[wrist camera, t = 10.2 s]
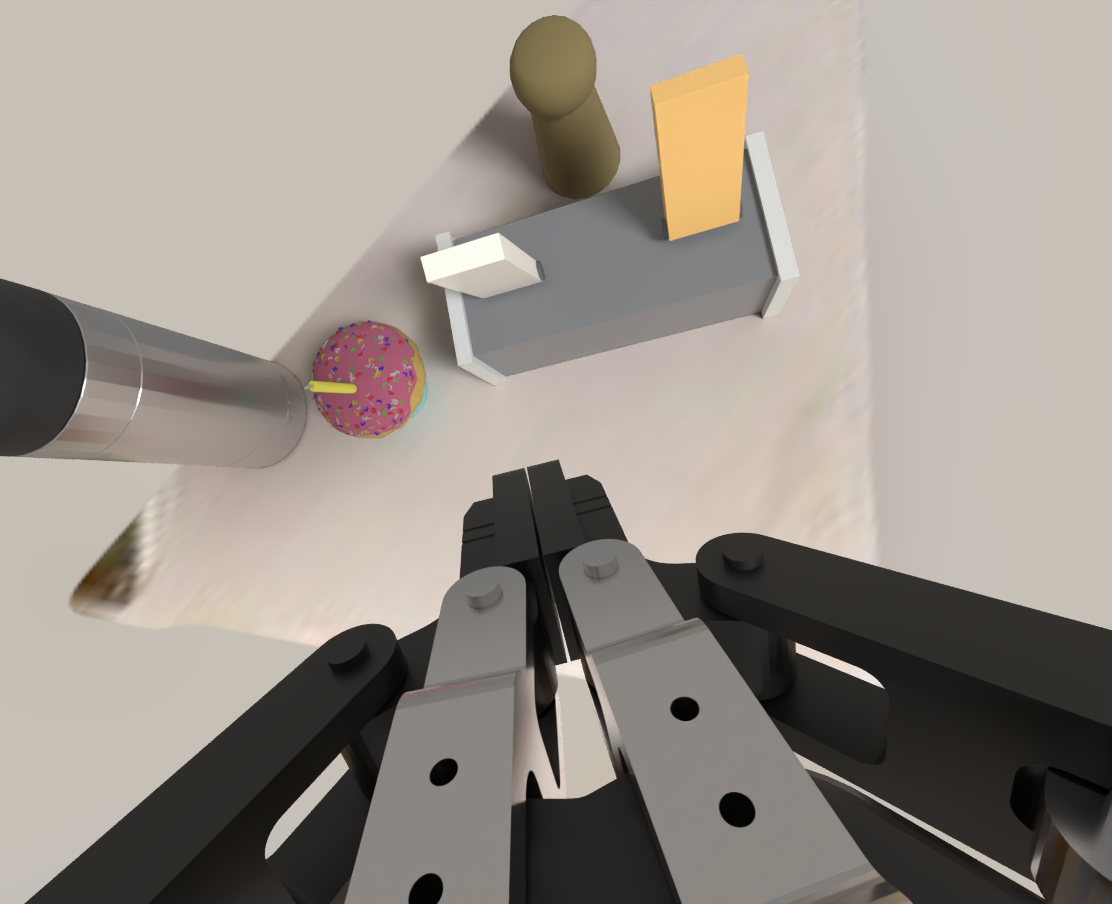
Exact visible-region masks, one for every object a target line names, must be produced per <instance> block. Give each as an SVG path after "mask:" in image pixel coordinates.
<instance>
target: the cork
mask: <svg viewBox="0 0 1112 904" xmlns="http://www.w3.org/2000/svg"><path fill="white" fill-rule="evenodd" d="M510 78H511V82H512V85H513V88H514V91H515V93H516V95H517V98H518V99H519V100H520V101H521V103H522V104H523V105H524V106H525V107H526V108H527V110H528V111H529V112H531V115H532V120H533V124H534V129H535V134H536V139H537V144H538V149H539V154H540V158H541V163H542V168H543V172H544V175H545V178H546V181H547V183H548V184H549V185H550V187H551V188H552V189H553V191H555V192H557V193H558V194H560V195H562V196H563V197H568V198H573V199H578V198H586V197H589V196H591V195H594V194H596V193H598V192H600V191H601V190H602V189H603V188H605V187H606V186H607V185H608V184H609V183H610V182H611V180H612V179H613V177H614V176H615V174H616V172H617V169H618V166H619V163H620V148H619V145H618V142H617V139H616V137H615V134H614V132H613V129H612V127H611V125H610V122H609V120H608V117H607V115H606V113H605V110H604V108H603V105H602V103H601V100H600V98H599V96H598V93H597V91H596V88H595V86H594V83H595V79H596V54H595V50H594V47H593V44H592V42H591V39H590V37H589V36H588V34H587V32H586V31H585V30H584V29H583V28H582V27H581V26H580V24H578V23H576V22H575V21H573V20H571V19H569V18H567V17H564V16H556V15H553V16H548V17H543V18H541V19H539V20H537V21H535V22H533V23H531V24H530V25H529V26H528V27H527V28H526V29H525V30H523V32H522V33H521V34H520V36H519V37H518V39H517V40H516V42H515V45H514V48H513V52H512V55H511V58H510Z"/></svg>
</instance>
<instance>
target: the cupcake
mask: <svg viewBox="0 0 1112 904" xmlns="http://www.w3.org/2000/svg"><path fill="white" fill-rule="evenodd" d="M340 329H341V330H340ZM339 330H340V331H338V332H336V334H334V335H333V336H332V337H331V338H330V339H328V340H326V342H325V343H324V345H323V346H322V348H321V349H320V352H318V354H317V357H316V359H315V361H314V363H313V366H314V369H313V370H312V372H311V374H312V373H313V374H312V379H311V381H310V382H309V384H308V385H306V386H304V389H309V390H310V391H312V392H314V397H315V398H312V399H313V400H314V401H316V403H317V406H318V410H320V412H321V413H322V415H323V416H324V417H325V418H326V420H327V422H329V423H330V424H331V426H333V427H334V428H335V429H337V430H338V431H340V432H343V433H346V434H348V435H351V436H354V437H359V438H382V437H385V436H387V435H388V434H390V433H391V432H393V431H395V430H397V429H399V428H401V427H403V426H404V425H405V424H406V422H407V421H408V419H409V418H410V417H412V416H414V415H415V414H416V413H417V412H418V411H419V410H420V409H421V407H422V406H423V404H424V402H425V399H426V395H427V383H426V374H425V369H424V365H423V362H422V359H421V357H420V355H419V351H418V348H417V346H416V344H415V343H414V342H413V341H412V340H410V339H409V338H408V337H407V336H406V335H405V334H403V333H402V332H401V331H400V330H398V329H397V328H395V327H392V326H389V325H385V324H381V323H375V322H370V320H369V321H368V322H361V323H359V322H358V323H357V324H355V323H354V324H352V325H350V326H348V327H346V328H342V327H340V328H339Z"/></svg>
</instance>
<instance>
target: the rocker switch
mask: <svg viewBox="0 0 1112 904" xmlns="http://www.w3.org/2000/svg"><path fill="white" fill-rule="evenodd" d="M420 258H421V261H422V265H423V269H424V272H425V276H426V280H427V282H428V283H431V284H435V285H438V286H442V287H445V288H449V289H452V290H456V291H459V292H462V293H466V294H469V295H473V296H476V297H477V298H478V299H480V298H487V297H490V296H494V295H497V294H501V293H504V292H508V291H511V290H515V289H518V288H522V287H525V286H529V285H532V284H536V283H539V282H542V281H543V280H545V275H544V270H543V267H542V264H541V262H540V260H538V261H536V260H534V259H533V258H532V257H530V256H529V255H528V254H526V253H525V252H524V251H522V250H521V249H520V248H518V247H517V246H516V245H514V244H513V243H512V242H510V241H509V240H508V239H506V238H505V237H504V236H502V235H501V234H500V233H496V234H493V235H489V236H486V237H483V238H480V239H477V240H473V241H470V242H467V243H464V244H461V245H457V246H454V247H451V248H448V249H445V250H441V251H438V252H435V253H432V254H429V255H425V256H422V257H420Z"/></svg>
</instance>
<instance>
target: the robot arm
mask: <svg viewBox="0 0 1112 904" xmlns="http://www.w3.org/2000/svg"><path fill="white" fill-rule="evenodd" d="M305 419H306V401H305V397H304V393H303V390H302V388H301V386H300V384H299V382H298V380H297V379H296V378H295V376H294V375H293V374H292V373H291V372H290V371H289V370H287V369H286V368H285V367H283V366H281V365H279V364H277V363H274V362H271V361H268V360H264V359H261V358H258V357H254V356H251V355H248V354H245V353H242V352H239V351H236V350H233V349H229V348H226V347H223V346H220V345H216V344H213V343H210V342H207V341H203V340H200V339H197V338H194V337H190V336H187V335H184V334H181V333H177V332H174V331H171V330H168V329H164V328H161V327H158V326H155V325H151V324H148V323H145V322H142V321H138V320H135V319H132V318H129V317H125V316H122V315H119V314H116V313H112V312H109V311H106V310H102V309H99V308H95V307H92V306H89V305H86V304H83V303H79V302H76V301H73V300H70V299H66V298H63V297H60V296H57V295H53V294H50V293H47V292H44V291H41V290H38V289H34V288H31V287H27V286H24V285H21V284H17V283H14V282H10V281H7V280H4V279H0V456H16V457H34V458H55V459H82V460H101V461H103V460H104V461H123V462H144V463H165V464H185V465H206V466H222V467H246V468H263V467H268V466H271V465H273V464H275V463H277V462H280V461H281V460H282V459H283V458H285V457H286V456H287V455H288V454H289V453H290V452H291V451H292V450H293V448H294V447H295V446H296V444H297V442H298V441H299V439H300V437H301V435H302V432H303V429H304V426H305ZM527 470H528V476H529V481H530V487H531V490H530V487H529V483H528V479H527V475H526V472H525V469H524V468H522V469H518V470H514V471H510V472H506V473H502V474H498V475H494V476H492V479H493V498H490V499H486V500H482V501H478V502H474V503H473V505H472V506H471V507H470V509H469V510H468V512H467V513H466V514H465V516H464V521H463V536H462V543H463V545H462V551H461V567H460V580H458V581H457V582H456V583H455V584H453V585H452V586H451V587H450V589H449V590H448V591H447V593H446V594H445V596H444V599H443V602H442V606H441V611H440V615H439V618H438V619H437V620H435V621H434V622H432V623H431V624H429V625H427V626H425V627H424V628H422V629H420V630H418V631H416V632H413V633H411V634H409V635H407V636H405V637H403V638H401V639H399V640H397V639H396V636H395V634H394V632H393V631H392V630H391V629H390V628H389V627H387V626H384V625H380V624H365V625H361V626H357V627H354V628H351V629H348V630H346V631H344V632H342V633H340V634H338V635H336V636H334V637H333V638H331V639H330V640H328V641H327V642H326V643H325V644H323V645H322V646H321V647H320V648H319V649H317V650H316V651H315V652H314V653H313V654H312V655H310V656H309V657H308V658H307V659H306V660H305V661H304V662H302V663H301V664H300V665H299V666H298V667H297V668H295V669H294V670H293V671H292V672H291V673H290V674H289V675H287V676H286V677H285V678H284V679H283V680H282V681H280V682H279V683H278V684H277V685H276V686H275V687H274V688H272V689H271V690H270V691H269V692H268V693H267V694H265V695H264V696H263V697H262V698H261V699H260V700H259V701H258V702H256V703H255V704H254V705H253V706H252V707H250V708H249V709H248V710H247V711H246V712H245V713H244V714H242V715H241V716H240V717H239V718H238V719H237V720H235V721H234V722H233V723H232V724H231V725H230V726H229V727H228V728H226V729H225V730H224V731H223V732H222V733H221V734H219V735H218V736H217V737H216V738H215V739H214V740H213V741H211V743H209V744H208V745H207V746H206V747H204V748H203V749H202V750H201V751H200V752H199V753H198V754H196V755H195V756H194V757H193V758H192V759H191V760H190V761H188V762H187V763H186V764H185V765H184V766H182V767H181V768H180V769H179V770H178V771H177V772H176V773H174V774H173V775H172V776H171V777H170V778H169V779H168V780H166V781H165V782H164V783H163V784H162V785H161V786H160V787H158V788H157V789H156V790H155V791H154V792H153V793H151V794H150V795H149V796H148V797H147V798H146V799H144V800H143V801H142V802H141V803H140V804H139V805H138V806H137V807H135V808H134V809H133V810H132V811H131V812H129V813H128V814H127V815H126V816H125V817H124V818H123V819H122V820H120V821H119V822H118V823H117V824H116V825H114V826H113V827H112V828H111V829H110V830H109V831H108V832H106V833H105V834H104V835H103V836H102V837H101V838H99V839H98V840H97V841H96V842H95V843H94V844H93V845H91V846H90V847H89V848H88V849H87V850H86V851H85V852H84V853H82V854H81V855H80V856H79V857H78V858H76V859H75V861H73V862H72V863H71V864H70V865H68V866H67V867H66V868H65V869H64V870H63V871H61V873H59V874H58V875H57V876H56V877H55V878H53V880H51V881H50V882H49V883H48V884H46V885H45V886H44V887H43V888H42V889H41V890H40V891H38V892H37V893H36V894H35V895H34V896H33V897H32V898H30V899H29V900H28V901H27V902H26V903H25V904H1112V630H1109V629H1105V628H1102V627H1098V626H1094V625H1091V624H1087V623H1083V622H1080V621H1076V620H1072V619H1069V618H1064V617H1061V616H1057V615H1053V614H1050V613H1046V612H1042V611H1039V610H1036V609H1032V608H1028V607H1024V606H1021V605H1017V604H1014V603H1010V602H1006V601H1003V600H999V599H995V598H991V597H988V596H984V595H980V594H977V593H973V592H969V591H965V590H962V589H958V588H955V587H951V586H947V585H944V584H940V583H936V582H932V581H929V580H925V579H921V578H918V577H914V576H911V575H907V574H903V573H900V572H896V571H892V570H889V569H885V568H881V567H878V566H874V565H870V564H867V563H863V562H859V561H856V560H852V559H848V558H845V557H841V556H837V555H834V554H830V553H826V552H823V551H819V550H815V549H812V548H808V547H804V546H801V545H797V544H793V543H790V542H786V541H782V540H779V539H775V538H771V537H768V536H764V535H760V534H754V533H732V534H726V535H722V536H719V537H716V538H714V539H712V540H710V541H708V542H707V543H705V544H704V545H703V546H702V547H701V548H700V549H699V551H698V553H697V555H696V563H684V564H667V563H659V562H654V561H651V560H648V559H645V558H644V556H643V555H642V553H641V552H640V550H639V549H638V548H637V547H635V546H634V545H633V544H631V543H629V542H628V541H627V538H626V536H625V534H624V532H623V530H622V528H621V525H620V523H619V521H618V519H617V517H616V515H615V512H614V510H613V508H612V507H611V504H610V502H609V499H608V497H607V496H606V493H605V491H604V489H603V486H602V484H601V483H600V482H599V481H597V480H595V479H593V478H592V477H590V476H588V475H583V476H579V477H575V478H571V479H567V480H565V478H564V475H563V472H562V469H561V466H560V463H559V460H555V461H550V462H546V463H542V464H538V465H534V466H530V467H527ZM531 492H532V494H531ZM532 497H533V498H532ZM557 610H558V612H557ZM558 614H559V617H558ZM559 618H560V621H561V625H562V629H563V633H564V637H565V640H566V644H567V648H568V652H569V656H570V660H571V661H574V660H578V659H581V663H582V667H583V671H584V674H585V678H586V682H587V686H588V690H589V694H590V698H591V701H592V704H593V707H594V710H595V713H596V716H597V720H598V723H599V726H600V729H601V732H602V735H603V738H604V741H605V744H606V747H607V750H608V753H609V756H610V759H611V762H612V765H613V768H614V772H615V774H616V778H617V779H616V780H614V781H612V782H610V783H608V784H607V785H605V786H603V787H601V788H600V789H598V790H596V791H594V792H593V793H591V794H589V795H587V796H584V797H580V798H573V799H567V791H566V778H565V763H564V750H563V749H564V748H563V734H562V720H561V707H560V700H559V697H558V693H557V687H558V680H557V674H556V668H555V665H559V664H563V663H567V658H566V653H565V648H564V642H563V637H562V632H561V627H560V622H559ZM795 642H796V643H799V644H801V645H804V646H806V647H809V648H811V649H814V650H816V651H819V652H821V653H824V654H826V655H829V656H831V657H834V658H836V659H839V660H841V661H844V662H846V663H849V664H851V665H854V666H856V667H859V668H861V669H863V670H865V671H866V672H868V673H870V674H871V675H872V676H874V677H875V678H876V679H877V680H878V681H879V682H880V683H881V684H882V685H883V687H884V688H885V689H883V688H881V687H878V686H876V685H873V684H871V683H869V682H866V681H864V680H861V679H859V678H856V677H854V676H852V675H849V674H847V673H844V672H842V671H839V670H837V669H835V668H832V667H830V666H827V665H825V664H823V663H820V662H818V661H815V660H813V659H810V658H808V657H806V656H803V655H801V654H798V653H796V643H795ZM793 751H794V752H796V753H797V754H799V755H801V756H803V757H805V758H807V759H808V760H810V761H812V762H814V763H816V764H818V765H819V766H822V767H823V768H825V769H827V770H829V771H831V772H832V773H834V774H836V775H838V776H840V777H842V778H844V779H846V780H847V781H849V782H851V783H853V784H855V785H856V786H858V787H860V788H862V789H864V790H866V791H867V792H870V793H871V794H873V795H875V796H877V797H879V798H880V799H882V800H884V801H886V802H888V803H890V804H891V805H893V806H895V807H897V808H899V809H901V810H903V811H904V812H906V813H908V814H910V815H912V816H914V817H916V818H917V819H919V820H921V821H923V822H925V823H927V824H928V825H930V826H932V827H934V828H936V829H938V830H939V831H942V832H943V833H945V834H947V835H949V836H951V837H952V838H954V839H956V840H958V841H960V842H962V843H963V844H965V845H967V846H969V847H971V848H973V849H975V850H976V851H978V852H980V853H982V854H984V855H986V856H987V857H989V858H991V859H993V860H995V861H997V862H998V863H1000V864H1002V865H1004V866H1006V867H1008V868H1010V869H1012V870H1013V871H1015V872H1017V873H1019V874H1021V875H1023V876H1024V877H1026V878H1028V879H1030V880H1032V881H1034V882H1035V883H1036V884H1037V886H1038V888H1039V890H1040V892H1041V894H1042V895H1043V897H1044V898H1045V899H1044V898H1042V897H1040V896H1038V895H1037V894H1035V893H1033V892H1032V891H1030V890H1028V889H1026V888H1024V887H1023V886H1021V885H1020V884H1018V883H1016V882H1014V881H1012V880H1011V879H1009V878H1008V877H1006V876H1004V875H1002V874H1001V873H999V872H997V871H995V870H994V869H992V868H990V867H989V866H987V865H985V864H983V863H981V862H980V861H978V860H977V859H975V858H973V857H971V856H970V855H968V854H966V853H965V852H963V851H961V850H959V849H958V848H956V847H954V846H953V845H951V844H949V843H947V842H945V841H944V840H942V839H940V838H939V837H937V836H935V835H934V834H932V833H930V832H928V831H926V830H925V829H923V828H922V827H920V826H918V825H916V824H915V823H913V822H911V821H909V820H907V819H906V818H904V817H903V816H901V815H899V814H898V813H896V812H894V811H892V810H891V809H889V808H887V807H885V806H884V805H882V804H880V803H878V802H877V801H875V800H873V799H872V798H870V797H868V796H867V795H865V794H863V793H861V792H859V791H858V790H856V789H854V788H852V787H850V786H848V785H846V784H844V783H841V782H839V781H837V780H835V779H832V778H830V777H828V776H825V775H822V774H819V773H816V772H813V771H811V770H807V769H804V767H803V766H802V764H801V763H800V761H799V760H798V758H797V757H796V755H795V754H794V752H793ZM340 753H341V754H342V756H343V758H344V760H345V761H346V763H347V765H348V767H349V769H348V771H347V772H346V773H345V774H344V775H343V776H342V777H341V778H340V780H339V781H338V782H337V783H336V784H335V785H334V786H333V787H332V789H331V790H330V791H329V792H328V793H327V794H326V795H325V797H324V798H323V799H322V800H321V801H320V802H319V803H318V804H317V806H316V807H315V808H314V809H313V810H312V811H311V812H310V813H309V815H308V816H307V817H306V818H305V819H304V820H303V821H302V822H301V824H300V825H299V826H298V827H297V828H296V829H295V830H294V831H293V832H292V834H291V835H290V836H289V837H288V838H287V839H286V840H285V841H284V843H283V844H282V845H281V846H280V847H279V848H278V849H277V851H276V852H274V854H273V855H271V856H270V857H269V858H268V859H265V847H266V843H267V840H268V837H269V835H270V832H271V831H272V829H273V827H274V826H275V824H276V823H277V821H278V820H279V819H280V818H281V816H282V815H283V814H284V813H285V812H286V811H287V810H288V808H290V807H291V805H292V804H293V803H294V802H295V801H296V800H297V799H298V798H299V797H300V796H301V794H302V793H303V792H304V791H305V790H306V789H307V788H308V787H309V786H310V785H311V784H312V783H313V782H314V781H315V780H316V778H317V777H318V776H319V775H320V774H321V773H322V772H323V771H324V770H325V769H326V768H327V766H329V764H330V763H331V762H332V761H333V760H334V759H335V758H336V757H337V756H338V755H339V754H340Z"/></svg>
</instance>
